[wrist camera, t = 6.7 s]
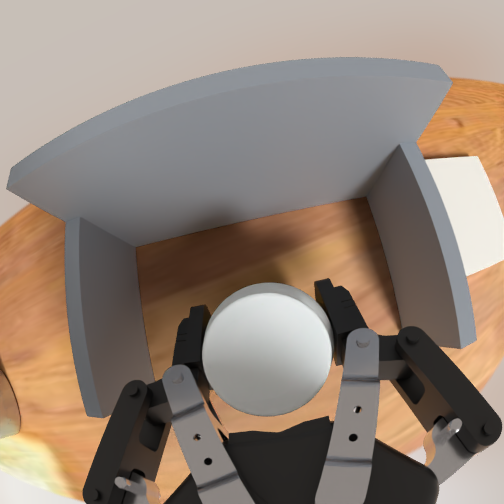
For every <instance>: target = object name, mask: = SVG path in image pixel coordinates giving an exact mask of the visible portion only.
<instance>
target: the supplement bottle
mask: <svg viewBox="0 0 504 504" xmlns="http://www.w3.org/2000/svg"><path fill="white" fill-rule="evenodd" d="M333 355H334V335H333V330H332V327H331V324H330V321H329V319H328V317H327V315H326V313H325V312H324V310H323V309H322V308H321V306H320V305H319V304H318V303H317V302H316V301H315V300H314V299H313V298H312V297H311V296H309V295H308V294H306V293H305V292H303V291H301V290H299V289H297V288H295V287H292V286H290V285H286V284H281V283H259V284H254V285H250V286H247V287H244V288H242V289H240V290H238V291H236V292H235V293H233V294H231V295H230V296H229V297H227V298H226V299H225V300H224V301H223V302H222V303H221V304H220V305H219V306H218V307H217V309H216V310H215V312H214V313H213V315H212V316H211V318H210V320H209V323H208V325H207V328H206V331H205V336H204V342H203V349H202V361H203V367H204V371H205V374H206V377H207V379H208V381H209V383H210V385H211V387H212V388H213V389H214V391H215V392H216V394H217V395H218V396H219V397H220V398H221V399H222V400H223V401H225V402H226V403H227V404H229V405H230V406H232V407H233V408H235V409H237V410H239V411H241V412H244V413H247V414H251V415H256V416H277V415H283V414H286V413H289V412H292V411H294V410H296V409H298V408H300V407H302V406H303V405H305V404H306V403H308V402H309V401H310V400H311V399H312V398H313V397H314V396H315V395H316V394H317V393H318V392H319V390H320V389H321V387H322V386H323V384H324V383H325V381H326V379H327V376H328V373H329V370H330V366H331V363H332V360H333Z"/></svg>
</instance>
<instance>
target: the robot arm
mask: <svg viewBox="0 0 504 504" xmlns="http://www.w3.org/2000/svg"><path fill="white" fill-rule="evenodd" d="M314 287H315V298H316V302H317V303H318V304H319V305H320V306H321V308H322V309H323V310H324V312H325V313H326V315H327V317H328V319H329V321H330V324H331V327H332V330H333V335H334V355H333V358H334V361H335V363H336V366H338V365H343V368H344V369H343V376H342V380H341V387H340V393H339V399H338V405H337V410H336V416H335V421H330V420H329V416H326V417H322V418H318V419H314V420H310V421H305V422H302V423H300V424H298V425H296V426H293V427H291V428H289V429H286V430H284V431H282V432H262V431H246V432H238V433H228V432H227V430H226V429H225V427H224V425H223V423H222V421H221V419H220V417H219V415H218V413H217V411H216V409H215V407H214V405H213V403H212V401H211V399H210V398H209V392H210V390H213V388H212V387H211V385H210V383H209V381H208V379H207V377H206V374H205V371H204V367H203V361H202V349H203V342H204V336H205V331H206V328H207V325H208V323H209V320H210V318H211V314H210V312H209V310H208V307H207V306H206V305H200V306H195V307H191V309H190V316H189V318H184V319H183V320H182V322H181V323H180V325H179V326H178V332H177V337H176V343H175V349H174V356H173V362H172V367H170V368H168V369H167V370H166V371H165V373H164V375H163V378H162V379H160V380H158V381H155V382H153V383H150V384H147V385H146V384H145V383H144V382H143V381H141V380H133V381H130V382H128V383H127V384H126V385H125V386H124V388H123V389H122V392H121V394H120V396H119V399H118V401H117V403H116V405H115V408H114V410H113V412H112V415H111V417H110V420H109V422H108V424H107V427H106V429H105V432H104V434H103V437H102V439H101V442H100V444H99V447H98V449H97V452H96V455H95V457H94V460H93V463H92V465H91V468H90V471H89V473H88V476H87V479H86V482H85V485H84V488H83V499H84V501H85V503H86V504H161V503H160V500H159V498H160V491H159V488H158V486H157V484H156V483H155V479H156V475H157V472H158V468H159V465H160V461H161V458H162V455H163V451H164V448H165V445H166V441H167V438H168V435H169V431H170V428H171V425H172V426H173V428H174V431H175V434H176V437H177V439H178V442H179V444H180V447H181V450H182V452H183V455H184V457H185V459H186V462H187V464H188V467H189V469H190V471H191V473H190V474H189V475H188V477H187V478H186V479H185V480H184V481H183V482H182V484H181V485H180V486H179V487H178V488H177V489H176V490H175V491H174V493H173V494H172V495H171V496H170V497H169V498H168V499H167V500H166V501H165V502H164V503H163V504H436V501H437V497H438V494H439V485H440V484H442V483H443V482H444V481H445V480H446V479H448V478H449V477H450V476H451V475H453V474H454V473H455V472H456V471H457V470H458V469H460V468H461V467H462V466H463V465H464V464H465V463H466V462H467V461H469V460H470V459H471V458H473V457H474V456H476V455H477V454H479V453H480V452H482V451H483V450H484V449H486V448H488V447H489V446H490V445H492V444H493V443H494V442H496V441H497V439H498V438H499V436H500V434H501V431H502V422H501V419H500V418H499V416H498V415H497V414H496V412H495V411H494V410H493V409H492V407H491V406H490V405H489V404H488V403H487V401H486V400H485V399H484V397H483V396H482V395H481V394H480V393H479V391H478V390H477V389H476V388H475V387H474V385H473V384H472V383H471V382H470V381H469V380H468V379H467V377H466V376H465V375H464V374H463V373H462V372H461V371H460V369H459V368H458V367H457V366H456V365H455V364H454V363H453V362H452V361H451V359H450V358H449V357H448V356H447V355H446V354H445V353H444V352H443V351H442V350H441V349H440V348H439V346H438V345H437V344H436V343H435V342H434V341H433V340H432V339H431V338H430V337H429V336H428V335H427V334H426V333H425V332H424V331H423V330H422V329H421V328H419V327H416V326H407V327H405V328H403V329H401V330H400V331H399V333H398V335H391V336H382V335H378V334H376V333H375V332H374V331H373V330H371V329H369V328H368V327H367V325H366V323H365V321H364V319H363V317H362V315H361V313H360V311H359V309H358V307H357V306H356V304H355V302H354V300H353V298H352V296H351V295H350V293H349V291H348V290H346V289H345V288H344V287H342V286H338V287H333V285H332V283H331V281H330V279H329V278H327V279H323V280H319V281H315V282H314ZM380 380H390V381H391V383H392V384H393V386H394V387H395V388H396V390H397V391H398V392H399V394H400V395H401V396H402V398H403V399H404V401H405V402H406V403H407V405H408V406H409V407H410V409H411V410H412V412H413V413H414V414H415V416H416V417H417V419H418V420H419V421H420V423H421V424H422V426H423V427H424V429H425V430H426V431H427V434H426V436H425V438H424V442H423V446H424V449H425V451H426V457H427V458H426V463H425V464H424V465H423V464H421V463H420V462H418V461H416V460H414V459H412V458H410V457H408V456H406V455H404V454H403V453H401V452H399V451H397V450H395V449H394V448H392V447H390V446H388V445H387V444H385V443H383V442H381V441H380V440H378V439H376V438H375V434H376V426H377V416H378V405H379V391H380ZM19 431H20V415H19V410H18V406H17V403H16V399H15V396H14V394H13V391H12V389H11V387H10V384H9V382H8V381H7V379H6V377H5V375H4V374H3V372H2V371H1V370H0V439H1V438H4V437H8V436H12V435H16V434H17V433H19Z"/></svg>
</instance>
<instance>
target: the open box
mask: <svg viewBox="0 0 504 504" xmlns="http://www.w3.org/2000/svg"><path fill="white" fill-rule="evenodd" d="M452 84H453V82H452V81H451V80H450V78H449V77H448V76H447V75H446V74H445V72H444V71H443V70H442V69H441V67H440V66H438V65H435V64H428V63H422V62H415V61H407V60H397V59H384V58H362V57H361V58H360V57H339V58H338V57H336V58H314V59H301V60H291V61H282V62H274V63H267V64H260V65H254V66H249V67H243V68H238V69H233V70H228V71H224V72H220V73H215V74H211V75H207V76H203V77H200V78H196V79H192V80H189V81H185V82H182V83H179V84H176V85H173V86H170V87H167V88H163V89H161V90H158V91H155V92H152V93H149V94H147V95H144V96H141V97H139V98H136V99H134V100H131V101H129V102H126V103H124V104H122V105H120V106H117V107H115V108H113V109H110V110H108V111H106V112H104V113H102V114H100V115H98V116H96V117H93V118H91V119H90V120H88V121H86V122H84V123H82V124H80V125H78V126H76V127H74V128H73V129H71V130H69V131H67V132H65V133H64V134H62V135H60V136H58V137H57V138H55V139H54V140H52V141H50V142H49V143H47V144H45V145H44V146H42V147H41V148H39V149H38V150H36V151H35V152H33V153H32V154H30V155H29V156H27V157H26V158H24V159H23V160H21V161H20V162H19V163H17V164H16V165H15V166H13V167H12V168H11V171H10V175H9V180H8V184H7V188H6V189H7V190H9V191H11V192H12V193H14V194H16V195H17V196H19V197H21V198H23V199H24V200H26V201H28V202H30V203H31V204H33V205H35V206H37V207H39V208H40V209H42V210H44V211H46V212H48V213H50V214H51V215H53V216H55V217H57V218H59V219H61V220H63V221H65V222H66V228H65V289H66V304H67V315H68V324H69V333H70V340H71V346H72V353H73V358H74V364H75V369H76V374H77V379H78V383H79V387H80V392H81V396H82V399H83V403H84V407H85V410H86V414H87V416H89V417H97V418H105V417H107V416H109V415H111V414H112V412H113V410H114V408H115V405H116V403H117V401H118V399H119V396H120V394H121V392H122V389H123V388H124V386H125V385H126V384H127V383H128V382H130V381H133V380H141V381H143V382H144V383H145V384H146V385H147V384H150V383H153V382H155V379H154V375H153V370H152V365H151V360H150V355H149V350H148V345H147V339H146V333H145V327H144V321H143V314H142V307H141V299H140V291H139V282H138V272H137V261H136V248H135V247H139V246H143V245H147V244H151V243H154V242H158V241H162V240H166V239H170V238H174V237H178V236H183V235H187V234H191V233H195V232H199V231H203V230H208V229H212V228H216V227H221V226H225V225H229V224H234V223H238V222H243V221H247V220H252V219H256V218H261V217H265V216H270V215H275V214H279V213H284V212H289V211H294V210H299V209H304V208H309V207H314V206H319V205H324V204H329V203H334V202H339V201H345V200H350V199H356V198H361V197H367V200H368V203H369V206H370V209H371V212H372V214H373V217H374V220H375V224H376V227H377V230H378V233H379V236H380V239H381V243H382V246H383V250H384V253H385V257H386V260H387V264H388V268H389V272H390V275H391V279H392V284H393V288H394V292H395V296H396V301H397V306H398V310H399V315H400V321H401V326H402V329H403V328H405V327H407V326H416V327H419V328H421V329H422V330H423V331H424V332H425V333H426V334H427V335H428V336H429V337H430V338H431V339H432V340H433V341H434V342H435V343H436V344H437V345H438V346H440V347H449V348H457V349H462V348H464V347H466V346H467V345H469V344H471V343H473V342H475V341H476V340H477V338H476V329H475V321H474V315H473V308H472V303H471V297H470V292H469V287H468V283H467V278H466V274H465V270H464V266H463V262H462V258H461V254H460V251H459V247H458V244H457V241H456V237H455V234H454V231H453V228H452V225H451V222H450V219H449V216H448V214H447V211H446V208H445V206H444V203H443V200H442V198H441V195H440V193H439V190H438V188H437V186H436V183H435V181H434V179H433V177H432V174H431V172H430V170H429V168H428V166H427V164H426V161H425V159H424V157H423V155H422V153H421V151H420V149H419V147H418V146H417V144H416V142H417V140H418V139H419V137H420V136H421V134H422V133H423V131H424V129H425V128H426V126H427V125H428V123H429V122H430V120H431V118H432V117H433V115H434V114H435V112H436V110H437V109H438V107H439V106H440V104H441V102H442V101H443V99H444V97H445V96H446V94H447V92H448V91H449V89H450V87H451V85H452Z"/></svg>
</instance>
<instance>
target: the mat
mask: <svg viewBox="0 0 504 504" xmlns="http://www.w3.org/2000/svg"><path fill="white" fill-rule="evenodd" d="M425 161H426V164H427V166H428V168H429V170H430V172H431V174H432V177H433V179H434V181H435V183H436V186H437V188H438V190H439V193H440V195H441V198H442V200H443V203H444V206H445V208H446V211H447V214H448V216H449V219H450V222H451V225H452V228H453V231H454V234H455V237H456V241H457V244H458V247H459V251H460V254H461V258H462V262H463V266H464V270H465V274H466V276H468V275H471V274H473V273H476V272H478V271H480V270H483V269H485V268H487V267H489V266H492V265H494V264H496V263H498V262H500V261H502V260H504V218H503V215H502V212H501V209H500V206H499V204H498V201H497V199H496V196H495V193H494V191H493V189H492V186H491V184H490V182H489V179H488V177H487V175H486V173H485V171H484V168H483V166H482V164H481V162H480V160H479V158H478V156H470V157H453V158H440V159H428V160H425Z"/></svg>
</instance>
